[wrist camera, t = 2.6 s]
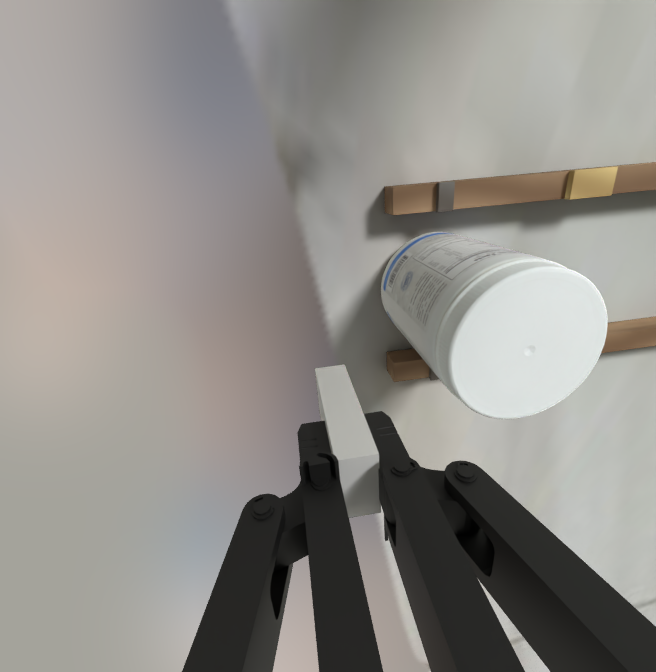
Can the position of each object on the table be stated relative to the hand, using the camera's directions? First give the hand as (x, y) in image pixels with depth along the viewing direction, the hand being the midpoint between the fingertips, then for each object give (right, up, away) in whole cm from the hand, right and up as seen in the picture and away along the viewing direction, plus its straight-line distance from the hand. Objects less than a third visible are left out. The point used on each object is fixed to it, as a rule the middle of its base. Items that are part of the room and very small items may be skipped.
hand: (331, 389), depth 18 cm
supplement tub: (+9, +8, +15) cm, 19 cm away
